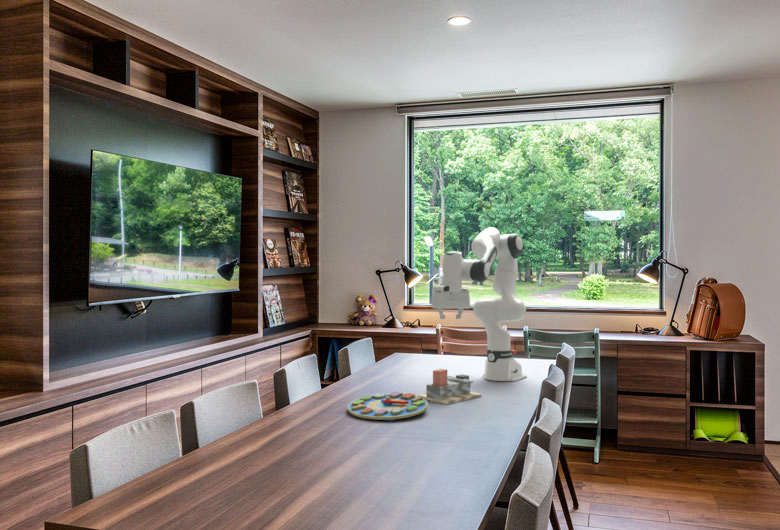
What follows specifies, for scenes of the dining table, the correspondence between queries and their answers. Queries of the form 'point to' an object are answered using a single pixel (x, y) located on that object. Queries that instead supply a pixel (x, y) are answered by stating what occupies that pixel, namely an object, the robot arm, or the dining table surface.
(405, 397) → the shape sorting clock
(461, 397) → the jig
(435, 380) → the salmon pink rectangular box
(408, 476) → the dining table surface
